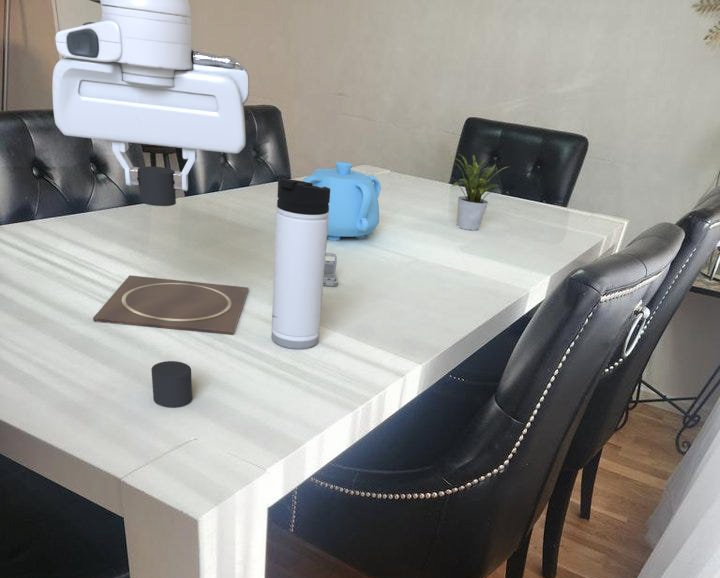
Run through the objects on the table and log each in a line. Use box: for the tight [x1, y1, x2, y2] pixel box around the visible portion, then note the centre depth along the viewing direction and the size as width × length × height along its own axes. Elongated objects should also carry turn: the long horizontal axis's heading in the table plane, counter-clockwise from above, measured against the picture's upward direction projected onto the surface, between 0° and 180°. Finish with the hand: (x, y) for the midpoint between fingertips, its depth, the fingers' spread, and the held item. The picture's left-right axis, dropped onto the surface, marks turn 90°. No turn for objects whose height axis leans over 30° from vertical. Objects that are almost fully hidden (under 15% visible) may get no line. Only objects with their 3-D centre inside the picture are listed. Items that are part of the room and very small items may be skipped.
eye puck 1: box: [138, 165, 177, 207], centre depth 75 cm, size 4×4×4 cm
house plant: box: [450, 153, 512, 231], centre depth 150 cm, size 14×14×16 cm
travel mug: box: [271, 178, 330, 350], centre depth 81 cm, size 6×7×20 cm
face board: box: [92, 274, 250, 336], centre depth 92 cm, size 18×18×1 cm
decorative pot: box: [302, 161, 382, 241], centre depth 131 cm, size 16×16×14 cm
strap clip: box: [323, 252, 339, 287], centre depth 108 cm, size 8×3×4 cm, turn 9°
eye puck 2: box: [150, 360, 193, 408], centre depth 68 cm, size 4×4×4 cm
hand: (157, 187), depth 75 cm, fingers closed on eye puck 1, 4 cm apart
